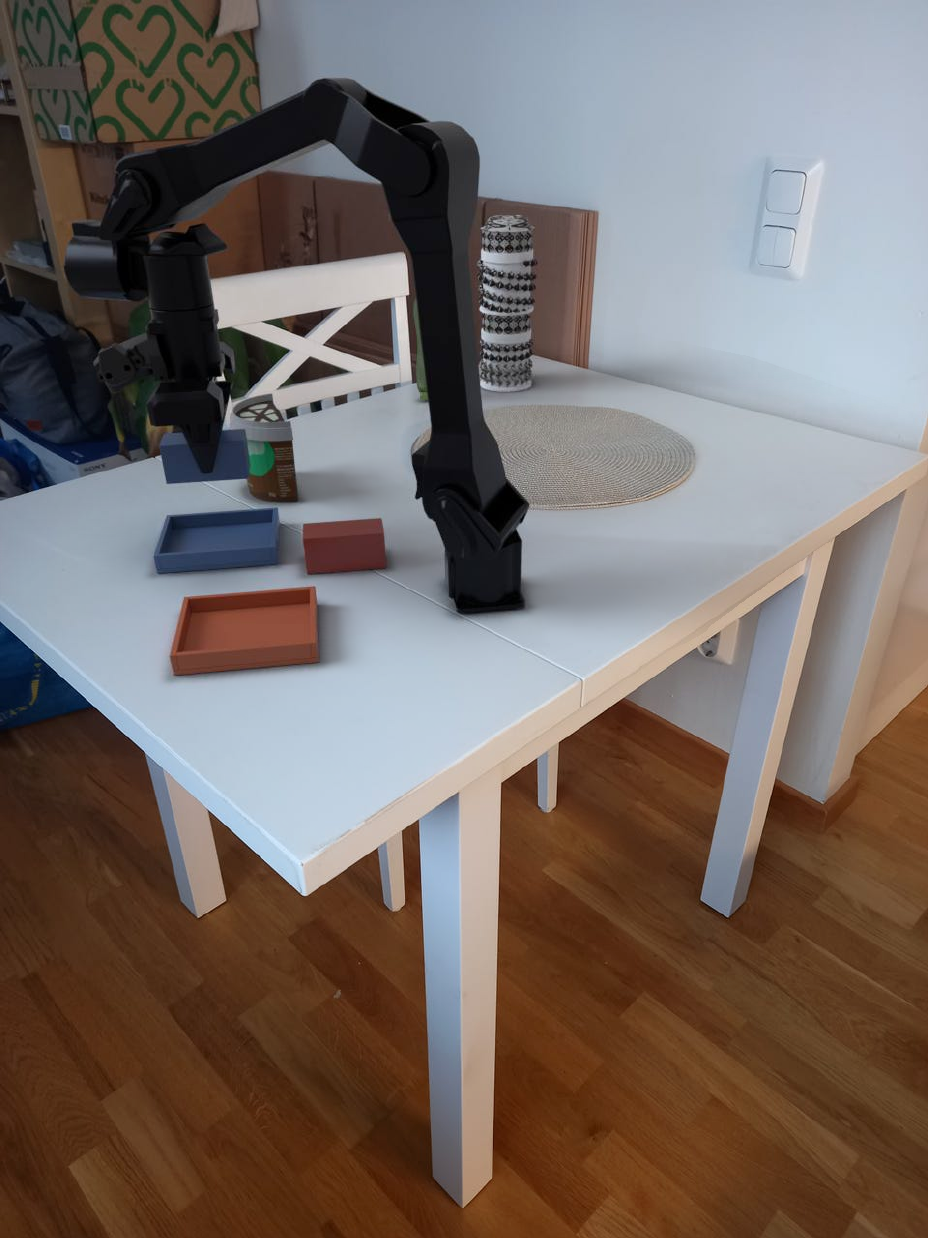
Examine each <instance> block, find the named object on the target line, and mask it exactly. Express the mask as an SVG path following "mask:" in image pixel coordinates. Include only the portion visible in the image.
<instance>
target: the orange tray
mask: <svg viewBox="0 0 928 1238" xmlns="http://www.w3.org/2000/svg"><path fill="white" fill-rule="evenodd" d="M318 610H319V609H318V597H317V589H316V586H315V585H313V586H302V587H301V586H300V587H287V588H276V589H264V590H263V589H262V590H253V591H240V592H228V593H227V592H226V593H214V594H203V595H190V596H183V600H182V603H181V607H180V612H179V616H178V620H177V623H176V629H175V633H174V636H173V641H172V645H171V649H170V653H169V660H170V664H171V668H172V673H173V676H182V675H183V676H184V675H185V676H186V675H195V674H206V673H215V672H225V671H228V672H229V671H238V670H249V669H259V668H271V667H281V666H282V667H283V666H292V665H302V664H303V665H304V664H313V663H319V660H320V659H319V617H318V616H319V615H318V614H319V613H318Z"/></svg>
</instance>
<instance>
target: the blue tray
mask: <svg viewBox="0 0 928 1238" xmlns="http://www.w3.org/2000/svg"><path fill="white" fill-rule="evenodd" d="M279 514H280V513H279V507H263V508H251V509H237V510H236V509H234V510H223V511H208V512H206V511H205V512H195V513H194V512H193V513H192V512H191V513H180V514H179V513H178V514H167V515H166V517H165V519H164V523H163V525H162V528H161V532H160V535H159V539H158V541H157V544H156V547H155V550H154V553H153V560H154V566H155V570H156V574H168V573H182V572H193V571H194V572H195V571H207V570H219V569H230V568H231V569H232V568H244V567H257V566H258V567H259V566H271V565H278V561H279V560H278V558H279V542H280V528H281V527H280V526H281V521H280V515H279Z"/></svg>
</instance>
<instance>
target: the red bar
mask: <svg viewBox="0 0 928 1238" xmlns="http://www.w3.org/2000/svg"><path fill="white" fill-rule="evenodd" d="M385 541H386V540H385V530H384V524H383V519H382V517H377V518H376V517H375V518H363V519H362V518H361V519H350V520H349V519H348V520H337V521H336V520H335V521H334V520H333V521H322V522H321V521H320V522H308V523H302V545H303V553H304V562H305V570H306V571H305V572H306V575H314V574H315V575H316V574H317V575H318V574H329V573H341V572H352V571H365V570H366V571H367V570H377V569H379V570H380V569H386V568H387V555H386V542H385Z"/></svg>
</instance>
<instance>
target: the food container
mask: <svg viewBox="0 0 928 1238" xmlns="http://www.w3.org/2000/svg"><path fill="white" fill-rule="evenodd" d="M291 426H292V425H291V420H287V421H286V420H285V419H284V417H283V414H282V413H281V411H280V410H279V409H278V408H277V406H276V405H275V403H274V397H273V393H271V392H270V393H264V394H259V395H255V396H252V397H248V398H245V399H242V400H240V401H239V402H237V403H236V404H234V406H233V407H232V409H231V412H230V415H229V426H228V427H229V428H228V429H229V430H235V429H245V431H246V438H247V445H248V452H249V459H250V472H249V478H248V479H246V483H247V487H248V491H249V494H250V495H251V496H252V497H253V498H255V499H257V500H261V501H263V502H270V503H291V502H299V495H298V486H297V485H298V484H297V475H296V465H295V456H294V455H295V454H294V444H293V441H294V436H293V429H292V427H291Z"/></svg>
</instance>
